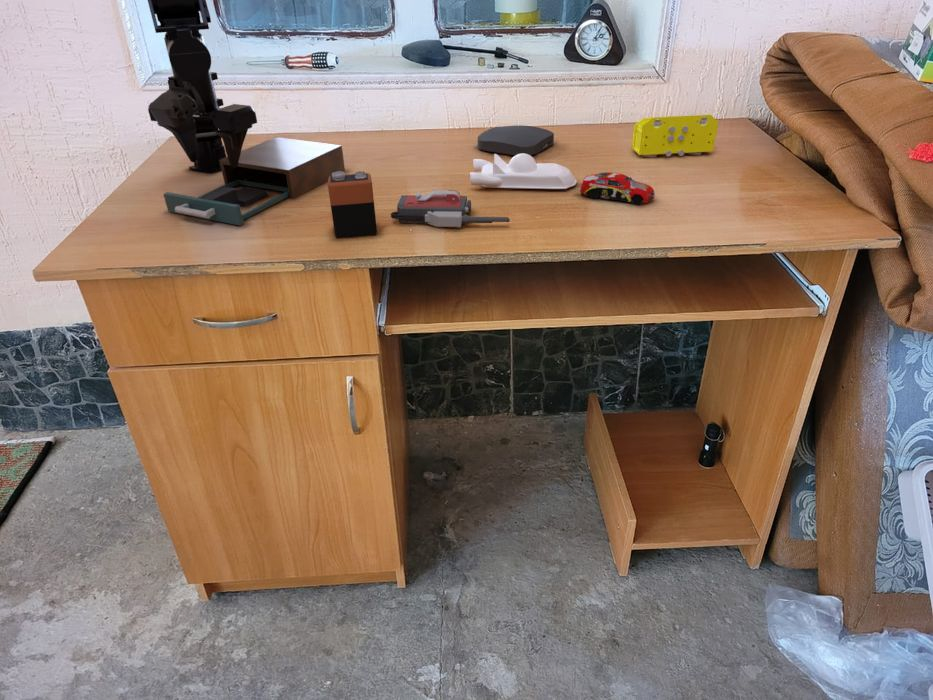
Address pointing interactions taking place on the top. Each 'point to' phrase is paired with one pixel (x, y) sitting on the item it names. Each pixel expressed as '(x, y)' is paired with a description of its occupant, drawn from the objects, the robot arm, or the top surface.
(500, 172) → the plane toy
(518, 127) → the media streaming box
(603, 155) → the top surface
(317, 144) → the drawer unit
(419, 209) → the walkie-talkie
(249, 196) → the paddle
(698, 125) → the yellow toy chassis
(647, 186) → the race car
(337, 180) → the battery
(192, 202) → the drawer
